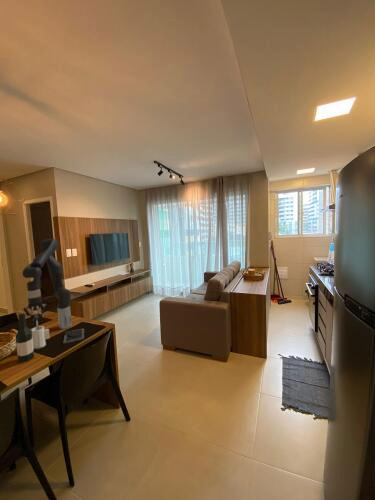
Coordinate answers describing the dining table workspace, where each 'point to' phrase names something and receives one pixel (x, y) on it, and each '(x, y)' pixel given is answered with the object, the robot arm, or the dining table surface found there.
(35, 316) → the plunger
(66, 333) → the picture frame
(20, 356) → the wine bottle
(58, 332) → the dining table surface
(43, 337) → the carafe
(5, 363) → the dining table surface
